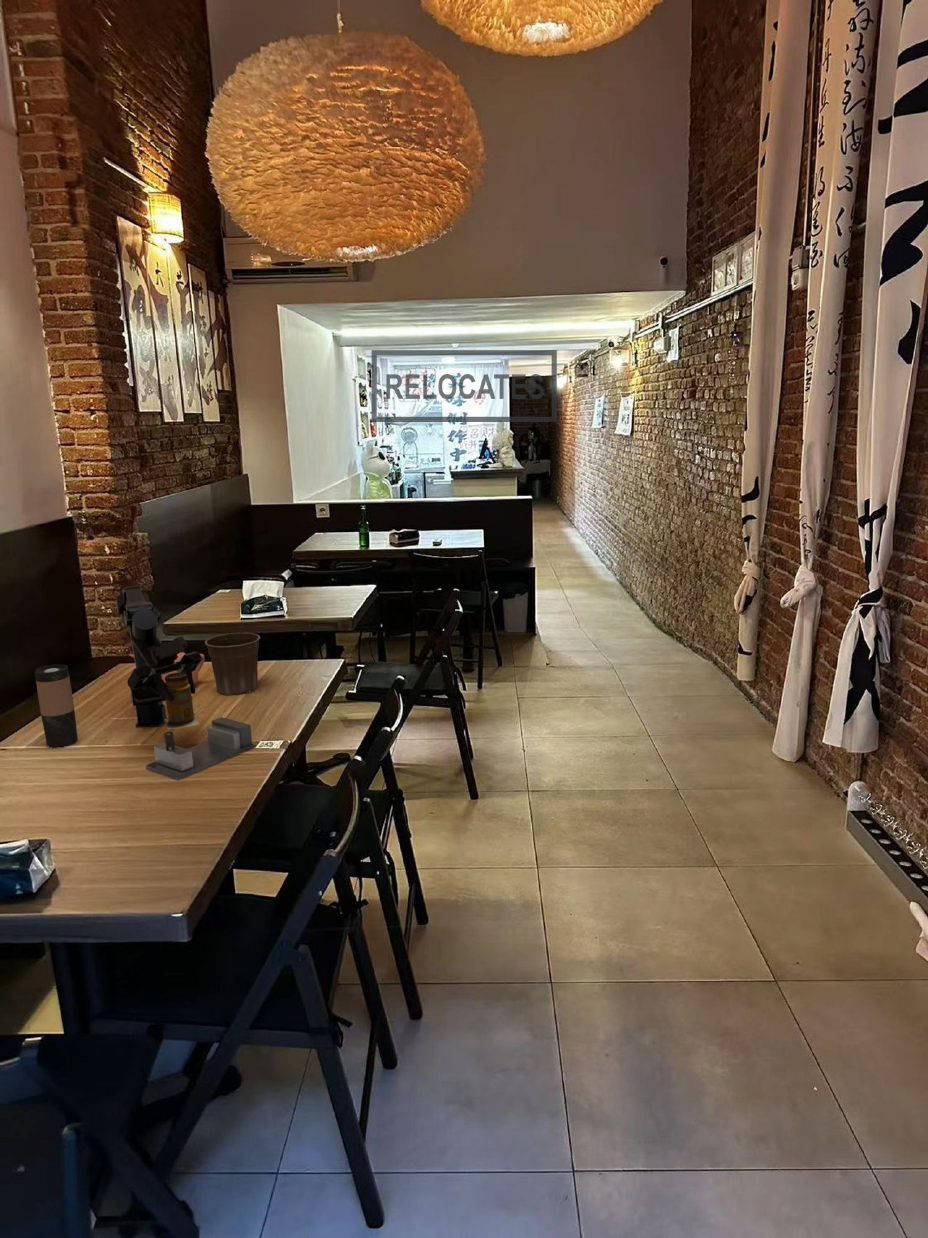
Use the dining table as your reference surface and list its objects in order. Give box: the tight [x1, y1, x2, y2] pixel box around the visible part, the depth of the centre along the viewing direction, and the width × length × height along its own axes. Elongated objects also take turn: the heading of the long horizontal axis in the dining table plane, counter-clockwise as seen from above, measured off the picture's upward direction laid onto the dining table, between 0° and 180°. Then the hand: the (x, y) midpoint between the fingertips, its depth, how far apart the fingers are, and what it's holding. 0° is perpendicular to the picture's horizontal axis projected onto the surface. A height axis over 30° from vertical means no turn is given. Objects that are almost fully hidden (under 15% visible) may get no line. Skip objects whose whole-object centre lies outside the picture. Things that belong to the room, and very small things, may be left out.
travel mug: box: [34, 664, 78, 749], centre depth 198 cm, size 8×8×20 cm
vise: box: [145, 716, 255, 781], centre depth 187 cm, size 22×12×6 cm, turn 146°
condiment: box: [164, 673, 200, 730], centre depth 192 cm, size 7×8×12 cm
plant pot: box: [204, 632, 261, 695], centre depth 239 cm, size 16×16×16 cm
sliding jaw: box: [153, 730, 193, 771], centre depth 181 cm, size 3×10×8 cm, turn 56°
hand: (183, 696), depth 191 cm, fingers closed on condiment, 6 cm apart
